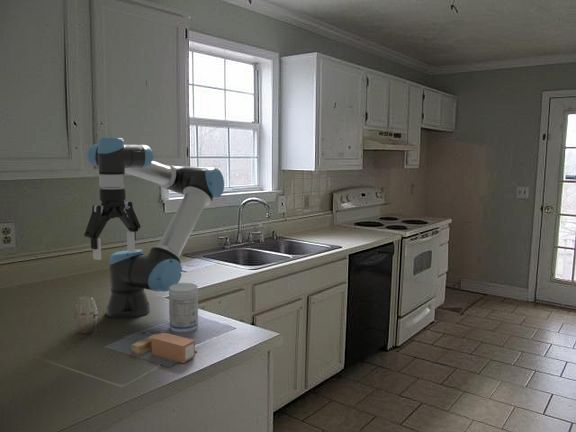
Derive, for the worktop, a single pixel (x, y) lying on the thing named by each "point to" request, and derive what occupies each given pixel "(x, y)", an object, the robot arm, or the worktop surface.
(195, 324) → the supplement tub
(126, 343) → the mat
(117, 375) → the worktop surface
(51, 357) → the worktop surface
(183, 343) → the block
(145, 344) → the ledge
